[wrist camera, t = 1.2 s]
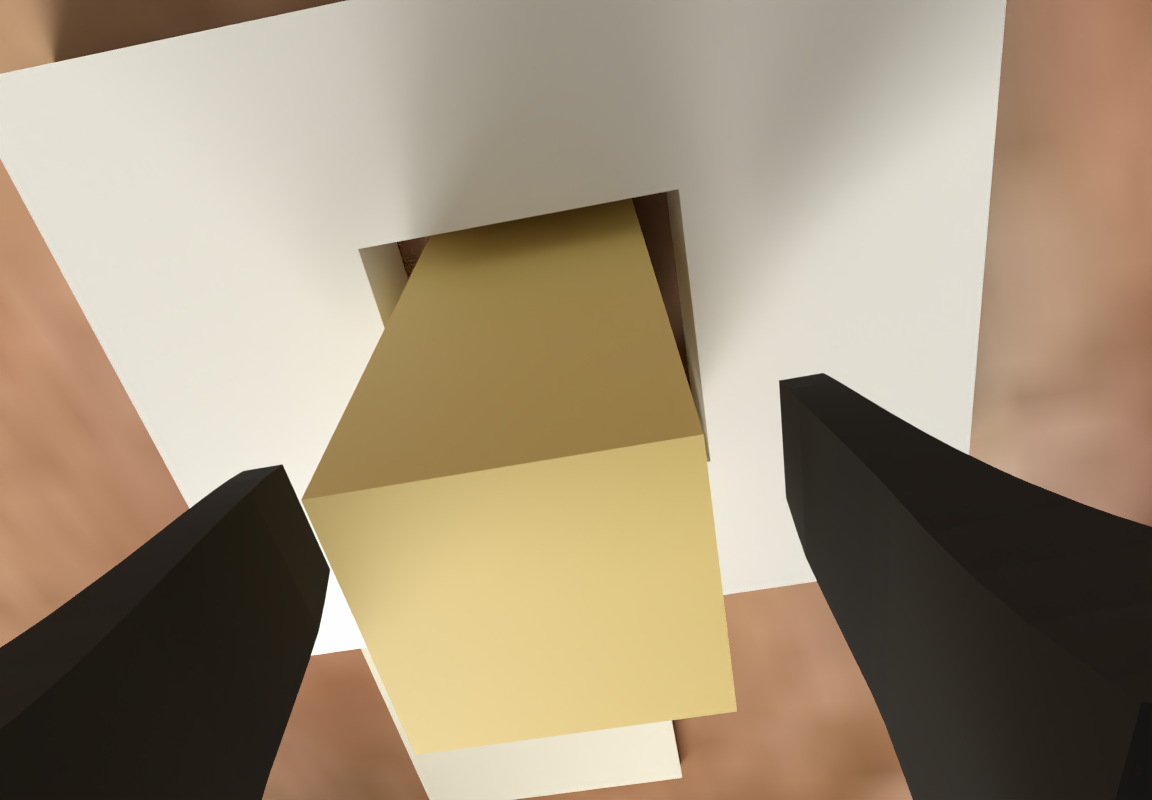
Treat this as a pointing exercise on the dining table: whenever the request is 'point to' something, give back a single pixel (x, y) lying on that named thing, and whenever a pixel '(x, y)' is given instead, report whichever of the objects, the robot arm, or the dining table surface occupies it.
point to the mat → (544, 761)
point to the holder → (524, 209)
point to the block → (529, 493)
